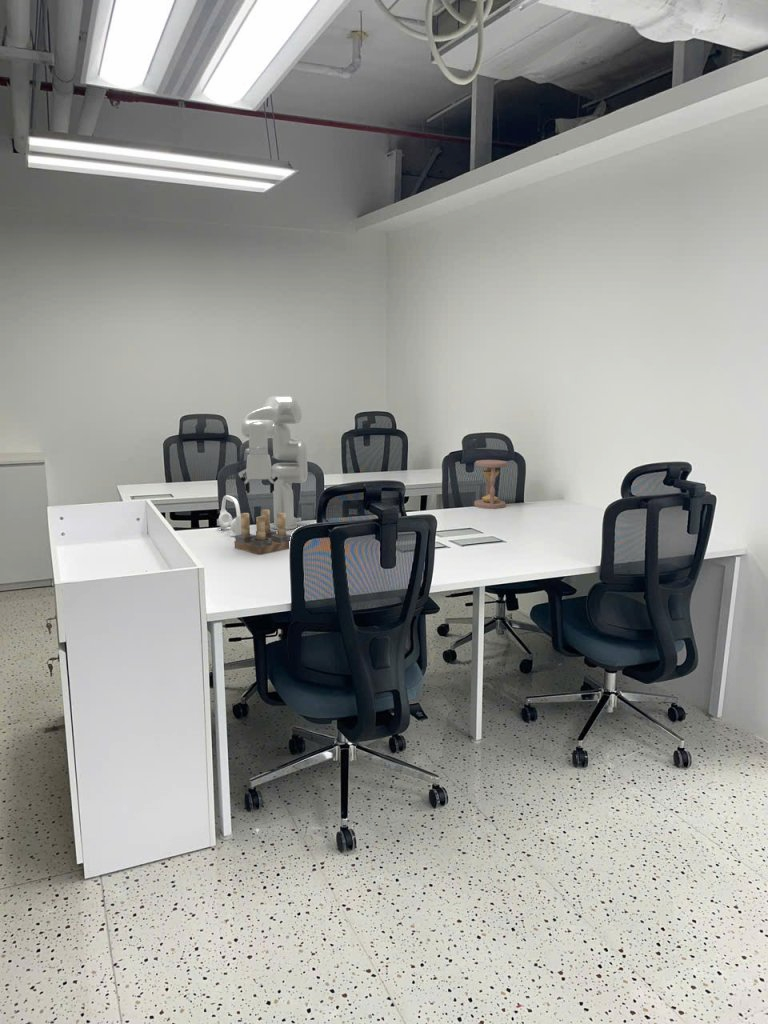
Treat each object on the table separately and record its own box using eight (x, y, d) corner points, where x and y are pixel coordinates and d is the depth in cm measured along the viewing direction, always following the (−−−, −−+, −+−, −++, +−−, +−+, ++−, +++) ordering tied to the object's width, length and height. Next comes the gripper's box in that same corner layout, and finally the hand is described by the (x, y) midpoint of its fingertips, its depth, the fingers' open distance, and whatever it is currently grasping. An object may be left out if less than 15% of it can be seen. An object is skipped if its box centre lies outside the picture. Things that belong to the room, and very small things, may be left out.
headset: (246, 536, 348) (245, 498, 344) (232, 538, 344) (230, 499, 340) (230, 528, 364) (228, 492, 361) (216, 530, 360) (214, 493, 357)
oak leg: (255, 545, 318) (254, 517, 315) (262, 543, 320) (261, 516, 318) (260, 546, 315) (259, 518, 313) (267, 545, 318) (266, 517, 316)
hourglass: (505, 509, 414) (506, 464, 409) (473, 508, 417) (474, 463, 412) (505, 503, 431) (507, 460, 426) (475, 502, 434) (476, 459, 429)
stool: (267, 540, 338) (266, 508, 336) (293, 547, 326) (292, 513, 323) (234, 547, 326) (233, 513, 323) (260, 554, 314) (259, 519, 311)
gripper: (236, 452, 306) (237, 494, 310) (278, 452, 307) (279, 494, 310) (239, 450, 314) (240, 491, 317) (280, 450, 314) (281, 491, 318)
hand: (260, 492), depth 314 cm, fingers open, 9 cm apart
